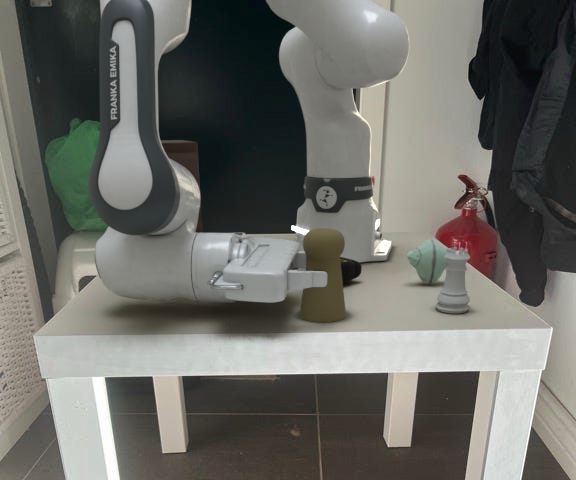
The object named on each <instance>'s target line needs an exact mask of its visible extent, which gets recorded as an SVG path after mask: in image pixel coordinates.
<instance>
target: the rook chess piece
mask: <svg viewBox="0 0 576 480" xmlns="http://www.w3.org/2000/svg"><path fill="white" fill-rule="evenodd" d="M447 248H448V247H447ZM444 257H445V259H446V260H447V266H446V267H445V269H444V270H445V271H446V272H445V277H444V282H443V287H442V289H441V290H440V293H438V294H437V297H436V301H437V303H435V308H436V309H437V310H438V311H439V312H441V313H445V314H453V315H455V314H464V313H467V312H468V310H470V307H471V306H470V305H469V303H470V302H471V298H470V296H469V295H468V291H467V288H466V272H467V270H468V268H467V265H466V264H467V262H468V261H469V260H470V259H471V256H470V254H469V249H468V248H464V247H460V248H459V250H458V247H449V248H448V252H447V254H446V255H445V256H444Z"/></svg>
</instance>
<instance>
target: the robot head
mask: <svg viewBox="0 0 576 480" xmlns="http://www.w3.org/2000/svg"><path fill="white" fill-rule="evenodd" d="M447 252H448V246H446V245H443V243H441V242H440V241H439V240H437V239H432V238H429V239H426V240H424V241H423V242H421V244H420V245H418V246H417V247H415V248H414V249H411V250H408V251H407V254H406V257H407V260H408V262H409V263H410V265H411V266H412V267H413V268H414V269H415V271H416V274H417V276H418V278H419V279H420V280H421V282H423V283H425V284H427V285H432V284H435V283H436V282H438V280H439V279H440V278H441V277H442V275H443V273H444V271H445V270H446V269H445V267H446V266H447V260H446V259H445V257H444V256H445V255H446V254H447Z"/></svg>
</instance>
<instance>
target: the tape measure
mask: <svg viewBox="0 0 576 480" xmlns="http://www.w3.org/2000/svg"><path fill="white" fill-rule="evenodd" d="M340 262H341V272H342V282H343V284H344V283H345V284H346V283H349V282H351V281H352V280H354V279H357V278H359V277H360V276H361V274H362V264H361V262H360V263H359V262H357V261H355V260H352V259H348V258H343V257H340Z"/></svg>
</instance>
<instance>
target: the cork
mask: <svg viewBox="0 0 576 480" xmlns="http://www.w3.org/2000/svg"><path fill="white" fill-rule="evenodd" d="M344 247H345V240H344V236H343V235H342V233H341V232H339V231H337V230H334V229H327V228H321V229H314V230H310V231H309V232H307V233H306V235H305V236H304V239H303V248H304V252H305V253H306V255H307V263H306V268H305V271H313V270H326V271H327V272H328V282H327V285H326V286H325V287H310V288H305V289H302V293H301V295H302V296H301V301H300V310H299V318H301V319H303V320H305V321H309V322H314V323H333V322H338V321H342V320H343V319H345V318H346V317H347V312H346V302H345V293H344V291H345V290H344V283H343V282H342V272H341V262H340V255H341V254H342V252H343V250H344Z"/></svg>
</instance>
